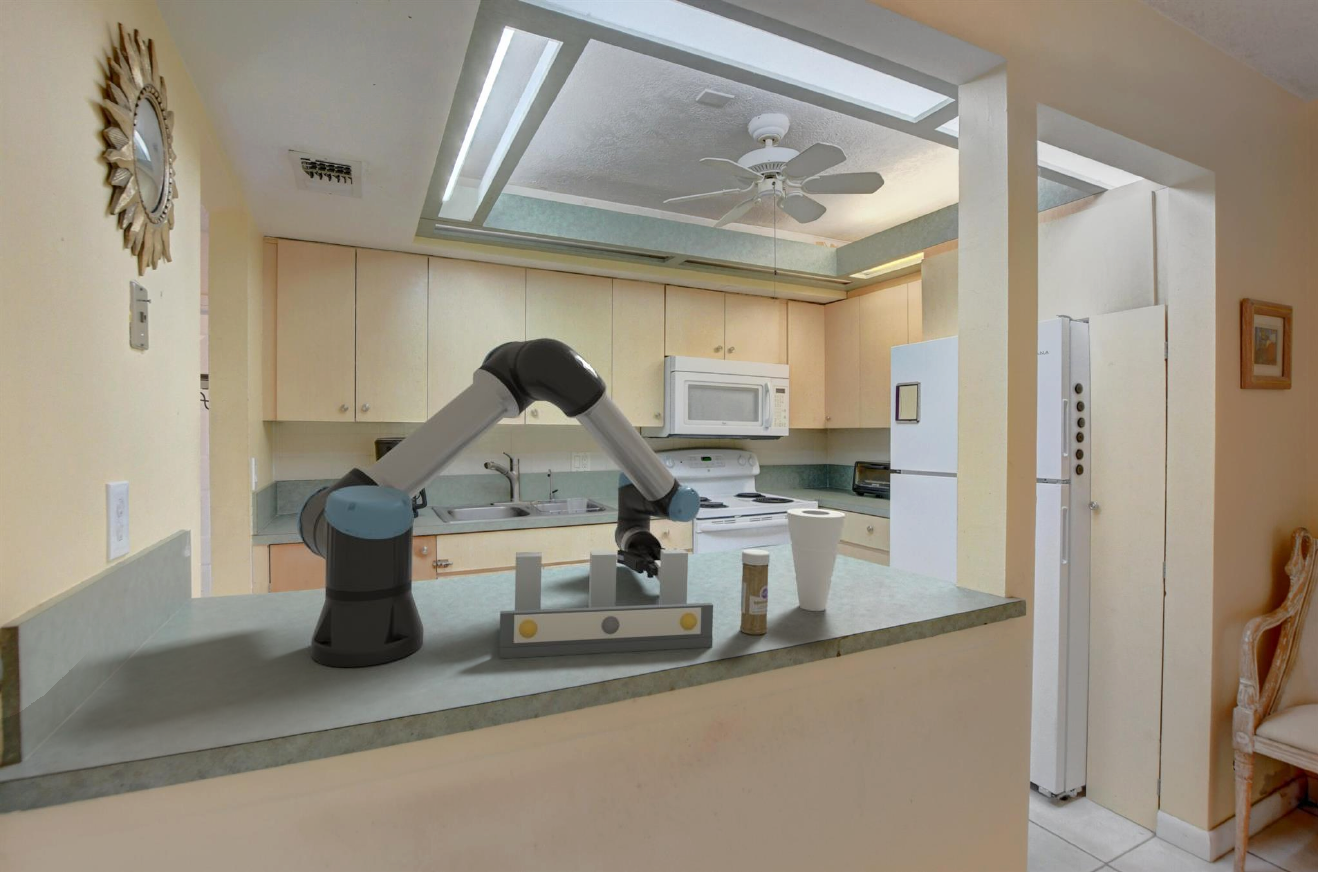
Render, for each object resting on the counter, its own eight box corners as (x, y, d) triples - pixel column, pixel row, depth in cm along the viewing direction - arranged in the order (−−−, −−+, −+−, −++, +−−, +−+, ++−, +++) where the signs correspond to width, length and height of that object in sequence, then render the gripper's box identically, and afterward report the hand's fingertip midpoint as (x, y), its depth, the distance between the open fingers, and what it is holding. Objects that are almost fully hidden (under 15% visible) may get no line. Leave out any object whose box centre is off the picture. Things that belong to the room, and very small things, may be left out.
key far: (662, 619, 105) (664, 553, 104) (659, 613, 108) (660, 549, 107) (686, 618, 105) (688, 552, 105) (681, 612, 108) (683, 549, 108)
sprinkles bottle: (761, 637, 102) (764, 555, 102) (735, 632, 105) (737, 551, 104) (771, 629, 106) (773, 550, 106) (745, 624, 109) (748, 547, 108)
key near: (514, 625, 100) (515, 556, 99) (514, 619, 102) (515, 552, 102) (540, 624, 100) (541, 556, 100) (539, 618, 103) (541, 552, 103)
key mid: (590, 622, 102) (592, 555, 102) (588, 616, 105) (590, 551, 105) (615, 621, 103) (616, 554, 103) (612, 615, 106) (614, 550, 105)
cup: (773, 601, 123) (776, 509, 122) (819, 596, 126) (822, 507, 126) (804, 618, 113) (807, 518, 112) (853, 613, 116) (857, 516, 116)
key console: (499, 659, 91) (500, 614, 90) (502, 628, 104) (502, 588, 103) (712, 647, 97) (714, 605, 97) (690, 619, 110) (691, 582, 110)
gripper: (670, 564, 137) (700, 596, 114) (610, 566, 134) (629, 598, 111) (671, 530, 136) (701, 554, 113) (611, 531, 134) (630, 556, 110)
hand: (665, 576), depth 112 cm, fingers closed
